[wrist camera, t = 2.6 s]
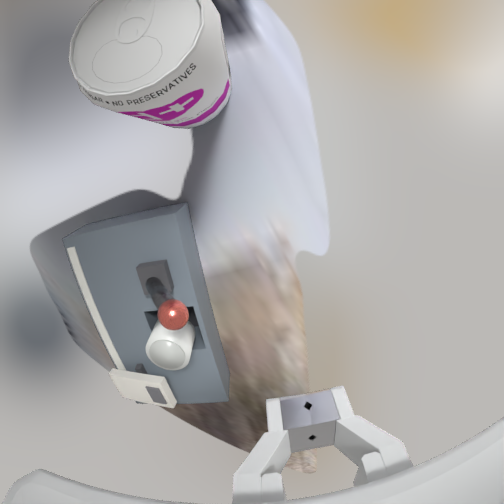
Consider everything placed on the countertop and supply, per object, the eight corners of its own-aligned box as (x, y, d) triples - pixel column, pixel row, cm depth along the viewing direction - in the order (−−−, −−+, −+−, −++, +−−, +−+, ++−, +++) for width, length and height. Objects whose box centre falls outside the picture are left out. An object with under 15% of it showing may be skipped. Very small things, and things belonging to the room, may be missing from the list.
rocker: (112, 368, 27) (107, 374, 26) (164, 376, 25) (159, 384, 24) (126, 392, 28) (122, 398, 27) (177, 401, 27) (173, 409, 26)
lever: (137, 275, 22) (157, 313, 16) (159, 267, 23) (188, 301, 16) (144, 297, 22) (167, 340, 16) (166, 289, 23) (196, 328, 17)
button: (149, 315, 25) (138, 338, 22) (189, 311, 25) (182, 335, 22) (162, 348, 27) (154, 372, 23) (199, 345, 27) (194, 370, 23)
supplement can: (226, 131, 25) (205, 106, 10) (142, 128, 24) (47, 115, 10) (237, 53, 22) (230, -36, 8) (154, 52, 21) (81, -15, 7)
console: (86, 224, 27) (56, 242, 21) (187, 202, 27) (172, 216, 21) (145, 377, 35) (134, 408, 29) (229, 372, 34) (228, 407, 29)
